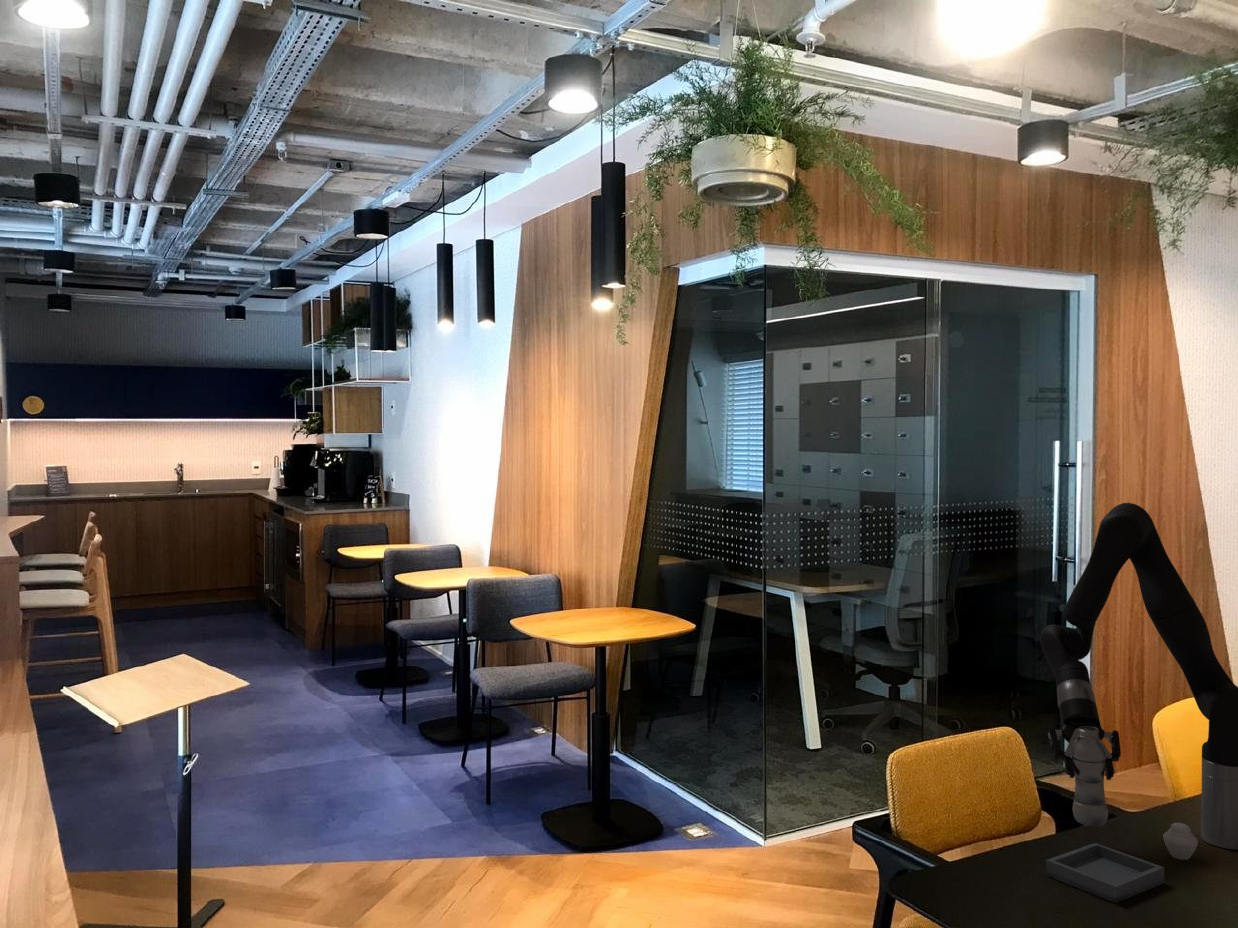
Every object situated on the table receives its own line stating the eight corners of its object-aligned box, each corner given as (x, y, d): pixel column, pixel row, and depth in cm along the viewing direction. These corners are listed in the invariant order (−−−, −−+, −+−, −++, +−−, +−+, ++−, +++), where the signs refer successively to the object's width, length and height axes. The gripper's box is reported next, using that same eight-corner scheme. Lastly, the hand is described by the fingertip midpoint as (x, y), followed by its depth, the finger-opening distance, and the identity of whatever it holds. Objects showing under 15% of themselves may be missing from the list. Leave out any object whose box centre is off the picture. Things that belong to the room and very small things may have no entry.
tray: (1095, 857, 199) (1095, 842, 199) (1164, 882, 187) (1164, 867, 187) (1046, 875, 191) (1046, 859, 191) (1115, 903, 179) (1115, 886, 179)
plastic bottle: (1112, 830, 201) (1110, 733, 201) (1076, 828, 203) (1074, 732, 202) (1103, 819, 207) (1102, 724, 207) (1069, 817, 209) (1067, 723, 209)
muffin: (1157, 855, 200) (1157, 821, 200) (1171, 848, 204) (1171, 814, 204) (1189, 865, 195) (1189, 830, 195) (1203, 858, 199) (1203, 823, 199)
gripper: (1044, 695, 214) (1055, 766, 202) (1116, 697, 210) (1132, 770, 199) (1040, 713, 219) (1051, 783, 207) (1110, 715, 215) (1125, 787, 204)
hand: (1091, 776), depth 203 cm, fingers closed on plastic bottle, 6 cm apart
